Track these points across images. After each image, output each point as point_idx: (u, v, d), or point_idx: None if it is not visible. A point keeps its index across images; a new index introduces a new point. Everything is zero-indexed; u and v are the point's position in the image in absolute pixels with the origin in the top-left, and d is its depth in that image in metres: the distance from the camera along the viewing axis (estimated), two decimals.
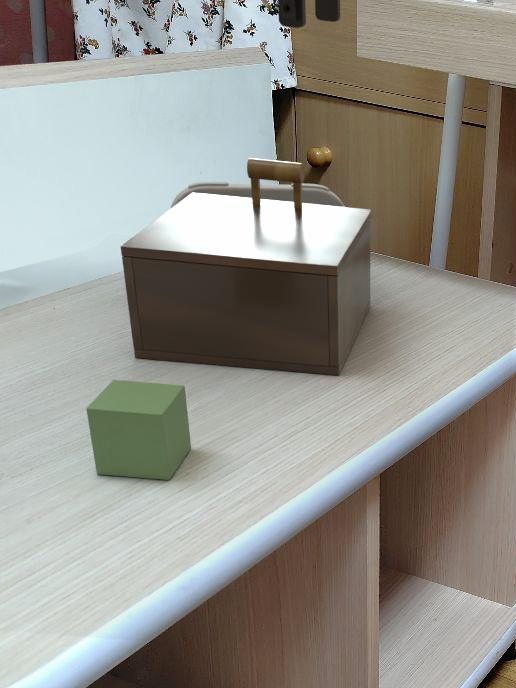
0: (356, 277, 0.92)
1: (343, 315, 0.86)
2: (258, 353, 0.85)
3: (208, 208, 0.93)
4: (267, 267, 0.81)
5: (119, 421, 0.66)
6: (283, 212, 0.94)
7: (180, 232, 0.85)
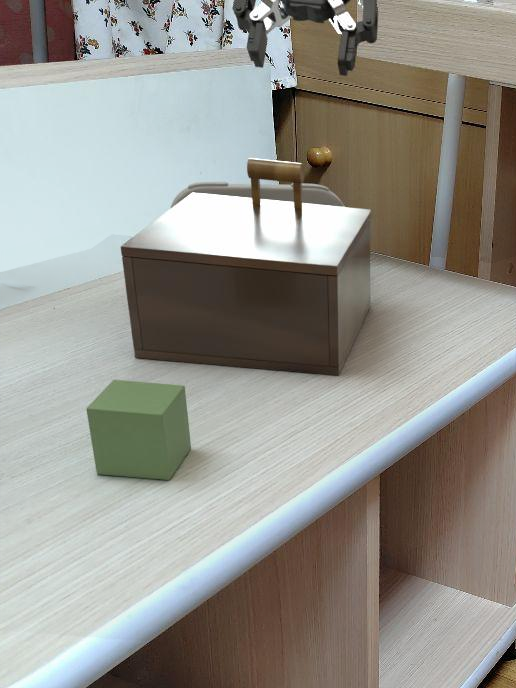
0: (356, 277, 0.92)
1: (343, 315, 0.86)
2: (258, 353, 0.85)
3: (208, 208, 0.93)
4: (267, 267, 0.81)
5: (119, 421, 0.66)
6: (283, 212, 0.94)
7: (180, 232, 0.85)
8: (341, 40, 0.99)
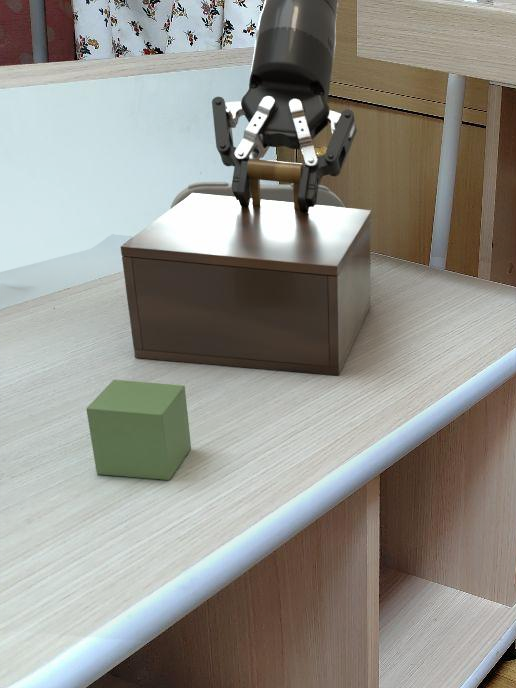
0: (356, 277, 0.92)
1: (343, 315, 0.86)
2: (258, 353, 0.85)
3: (208, 208, 0.93)
4: (267, 267, 0.81)
5: (119, 421, 0.66)
6: (283, 212, 0.94)
7: (180, 232, 0.85)
8: (301, 177, 0.93)
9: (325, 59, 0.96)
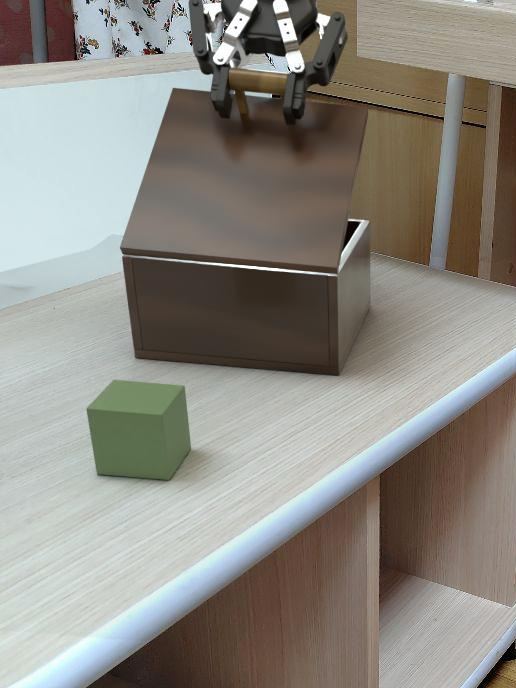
0: (356, 277, 0.92)
1: (343, 315, 0.86)
2: (258, 353, 0.85)
3: (194, 131, 0.87)
4: (267, 266, 0.81)
5: (119, 421, 0.66)
6: (274, 130, 0.88)
7: (173, 201, 0.83)
8: (287, 84, 0.85)
9: None
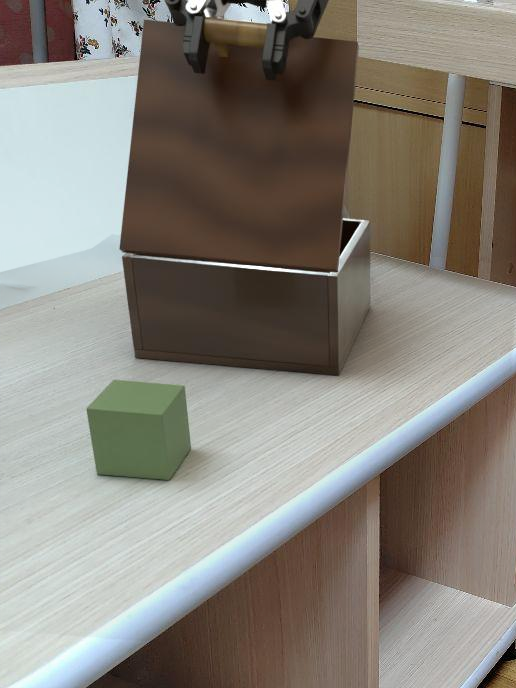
0: (356, 277, 0.92)
1: (343, 315, 0.86)
2: (258, 353, 0.85)
3: (175, 86, 0.81)
4: (267, 265, 0.81)
5: (119, 421, 0.66)
6: (258, 81, 0.82)
7: (164, 186, 0.81)
8: (267, 35, 0.77)
9: None
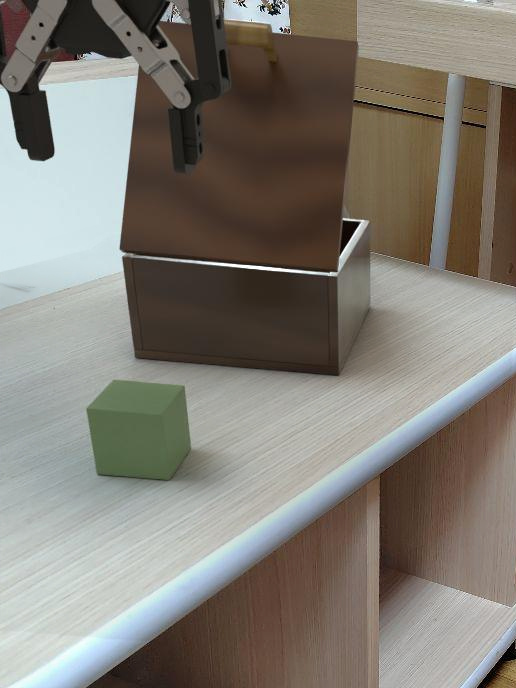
0: (356, 277, 0.92)
1: (343, 315, 0.86)
2: (258, 353, 0.85)
3: None
4: (267, 265, 0.81)
5: (119, 421, 0.66)
6: (258, 80, 0.82)
7: (164, 186, 0.81)
8: (171, 129, 0.58)
9: None
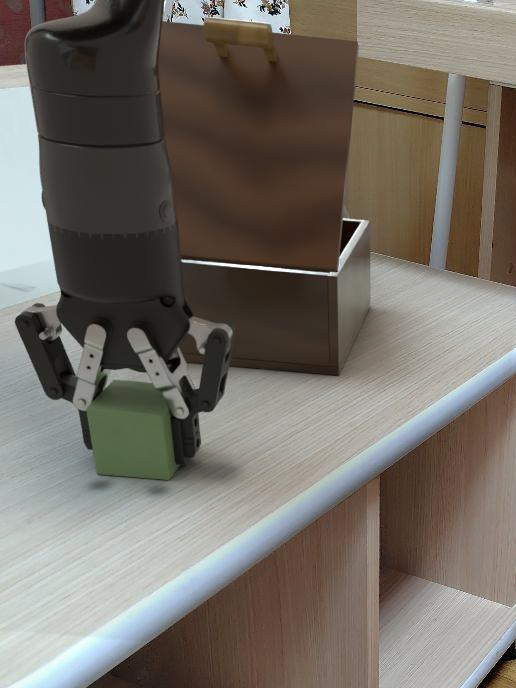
0: (356, 277, 0.92)
1: (343, 315, 0.86)
2: (258, 353, 0.85)
3: (175, 85, 0.81)
4: (267, 265, 0.81)
5: (119, 421, 0.66)
6: (258, 80, 0.82)
7: None
8: (173, 433, 0.68)
9: (163, 251, 0.61)
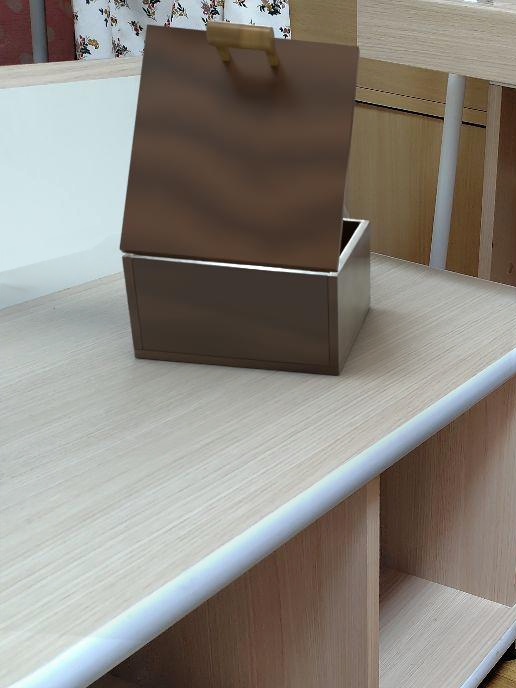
0: (356, 277, 0.92)
1: (343, 315, 0.86)
2: (258, 353, 0.85)
3: (177, 89, 0.82)
4: (267, 265, 0.81)
5: None
6: (260, 84, 0.82)
7: (165, 187, 0.81)
8: None
9: None
